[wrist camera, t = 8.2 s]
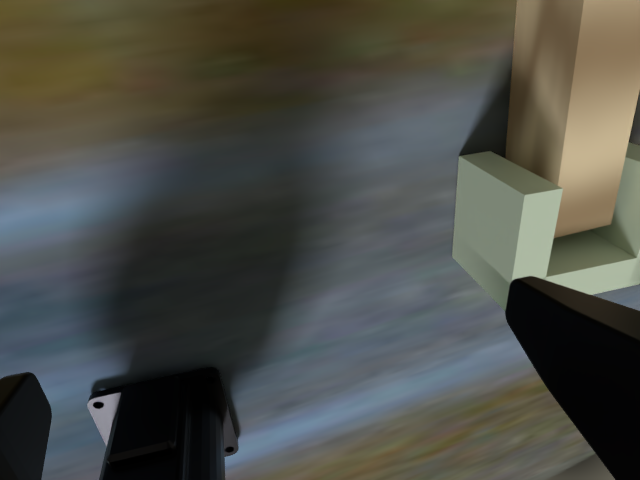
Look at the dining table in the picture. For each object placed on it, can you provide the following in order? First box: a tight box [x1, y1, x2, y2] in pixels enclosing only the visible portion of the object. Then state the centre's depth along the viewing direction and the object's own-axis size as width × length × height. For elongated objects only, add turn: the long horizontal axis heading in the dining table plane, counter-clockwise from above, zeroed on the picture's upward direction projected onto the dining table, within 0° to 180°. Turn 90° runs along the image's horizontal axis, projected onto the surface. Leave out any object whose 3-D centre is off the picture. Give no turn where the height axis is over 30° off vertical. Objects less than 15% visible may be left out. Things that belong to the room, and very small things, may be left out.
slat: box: [505, 0, 640, 238], centre depth 18 cm, size 15×3×4 cm, turn 8°
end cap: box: [452, 142, 640, 311], centre depth 21 cm, size 6×8×5 cm
